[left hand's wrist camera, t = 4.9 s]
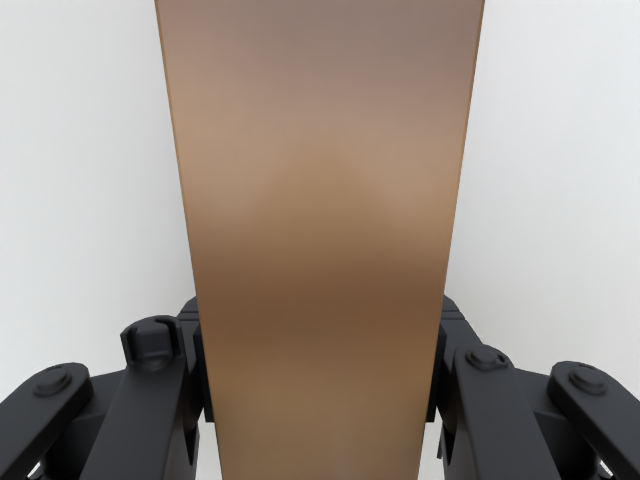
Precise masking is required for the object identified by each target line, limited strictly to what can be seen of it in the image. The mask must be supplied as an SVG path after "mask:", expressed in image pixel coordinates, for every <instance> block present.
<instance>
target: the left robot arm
mask: <svg viewBox="0 0 640 480" xmlns="http://www.w3.org/2000/svg"><path fill="white" fill-rule="evenodd" d="M120 337H121V341H122V345H123V350H124V354H125V358H126V362H127V366H126V368H125V369H124V370H121V371H117V372H113V373H108V374H103V375H99V376H94V377H90V374H89V371H88V368H87V367H86V366H84V365H83V364H80V363H74V362H73V363H64V364H59V365H55V366H52V367H49V368H46V369H45V370H43V371H41V372H38V373H36V374H34V375H33V376H32V377H30V378H29V379H28V380H26V381H25V382H23V383H22V384H21V385H20V386H19V387H18V388H17V389H16V390H15V391H14V392H12V393H11V394H10V395H9V396H8V397H7V398H6V399H5V400H4V401H3V402H1V403H0V480H195V477H196V467H197V457H198V448H199V438H200V435H199V429H198V419H199V417H200V414H201V412H202V409H203V408H204V414H205V421H206V422H214V416H213V409H212V402H211V395H210V388H209V381H208V374H207V367H206V360H205V353H204V346H203V339H202V332H201V325H200V318H199V311H198V304H197V297H196V296H195V297H194V298H192V299H191V300H189V301H188V302H187V303H186V304H185V306H184V307H183V308H182V310H181V311H180V313H179V314H178V316H177V317H172V316H168V315H157V316H152V317H148V318H144V319H142V320H139V321H137V322H134V323H133V324H131V325H130V326H128V327H127V328H125V329H124V331H123V332H122V333H121V334H120ZM436 406H437V408H438V410H439V413H440V416H441V418H442V421H443V422H442V429H441V435H440V441H439V447H438V453H437V458H439V459H441V458H442V457H443V466H444V476H445V480H640V401H639V400H638V399H636V398H635V397H634V396H633V395H632V394H631V393H630V392H629V391H628V390H626V389H625V388H624V387H623V386H622V385H621V384H620V383H619V382H618V381H616V380H615V379H614V378H612V377H611V376H609V375H608V374H607V373H605V372H603V371H601V370H599V369H597V368H595V367H593V366H590V365H586V364H584V363H580V362H572V361H563V362H557V363H556V364H555V365H554V366H553V367H552V370H551V373H550V376H548V375H543V374H539V373H534V372H529V371H525V370H521V369H517V368H514V365H513V363H512V362H511V361H510V359H509V358H508V357H507V356H506V355H505V354H503V353H502V352H501V351H499V350H497V349H495V348H493V347H491V346H489V345H484V344H483V343H482V342H481V340H480V339H479V338H478V336H477V335H476V333H475V332H474V330H473V329H472V328H471V326H470V325H469V323H468V322H467V320H465V317H464V316H463V315H462V313H461V312H460V310H459V309H458V307H457V306H456V304H455V303H454V302H453V301H452V300H451V299H449V298H448V297H447V296H445V295H443V302H442V309H441V316H440V323H439V331H438V338H437V345H436V352H435V359H434V366H433V373H432V380H431V387H430V394H429V402H428V409H427V416H426V422H434V419H435V413H436ZM601 460H602V461H603V462H604V463H605V465H606V466H607V467H608V468H609V470H610V471H611V472H612V473H613V476H610V475H609V474H608V473H607V472H606V471H605V469H604V468H603V467H602V466H601V464H600V462H601ZM38 462H39V463H40V466H39V467H38V469H37V470H36V471H35V472H34V473H33V474H32V475H31V476H30V477H29V478H28V477H27V476H28V474H29V473H30V472H31V471H32V469H33V468H34V467H35V466H36V464H37V463H38Z"/></svg>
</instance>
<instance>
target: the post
mask: <svg viewBox="0 0 640 480" xmlns="http://www.w3.org/2000/svg"><path fill="white" fill-rule="evenodd" d="M484 4H485V0H155V8H156V15H157V22H158V29H159V36H160V43H161V50H162V57H163V64H164V71H165V78H166V85H167V92H168V99H169V106H170V113H171V120H172V127H173V134H174V141H175V149H176V156H177V163H178V170H179V177H180V184H181V191H182V198H183V205H184V212H185V219H186V226H187V233H188V240H189V247H190V254H191V261H192V268H193V275H194V282H195V290H196V297H197V304H198V311H199V318H200V325H201V332H202V339H203V346H204V353H205V360H206V367H207V374H208V381H209V388H210V395H211V402H212V409H213V416H214V423H215V431H216V438H217V445H218V452H219V459H220V466H221V473H222V480H418V473H419V466H420V458H421V451H422V444H423V437H424V430H425V423H426V416H427V409H428V402H429V394H430V387H431V380H432V373H433V366H434V359H435V352H436V345H437V338H438V331H439V323H440V316H441V309H442V302H443V295H444V288H445V281H446V274H447V267H448V259H449V252H450V245H451V238H452V231H453V224H454V217H455V210H456V203H457V196H458V188H459V181H460V174H461V167H462V160H463V153H464V146H465V139H466V132H467V124H468V117H469V110H470V103H471V96H472V89H473V82H474V75H475V68H476V61H477V53H478V46H479V39H480V32H481V25H482V18H483V11H484Z"/></svg>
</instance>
